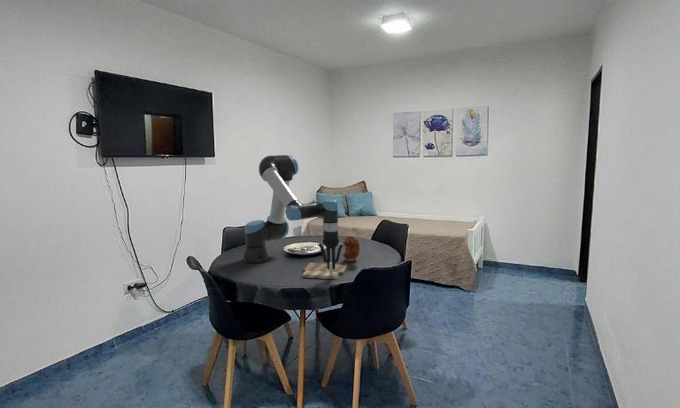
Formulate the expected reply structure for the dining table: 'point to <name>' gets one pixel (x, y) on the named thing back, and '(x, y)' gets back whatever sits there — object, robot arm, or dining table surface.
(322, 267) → the floorboard
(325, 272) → the plank
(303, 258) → the dining table surface
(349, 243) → the mug
